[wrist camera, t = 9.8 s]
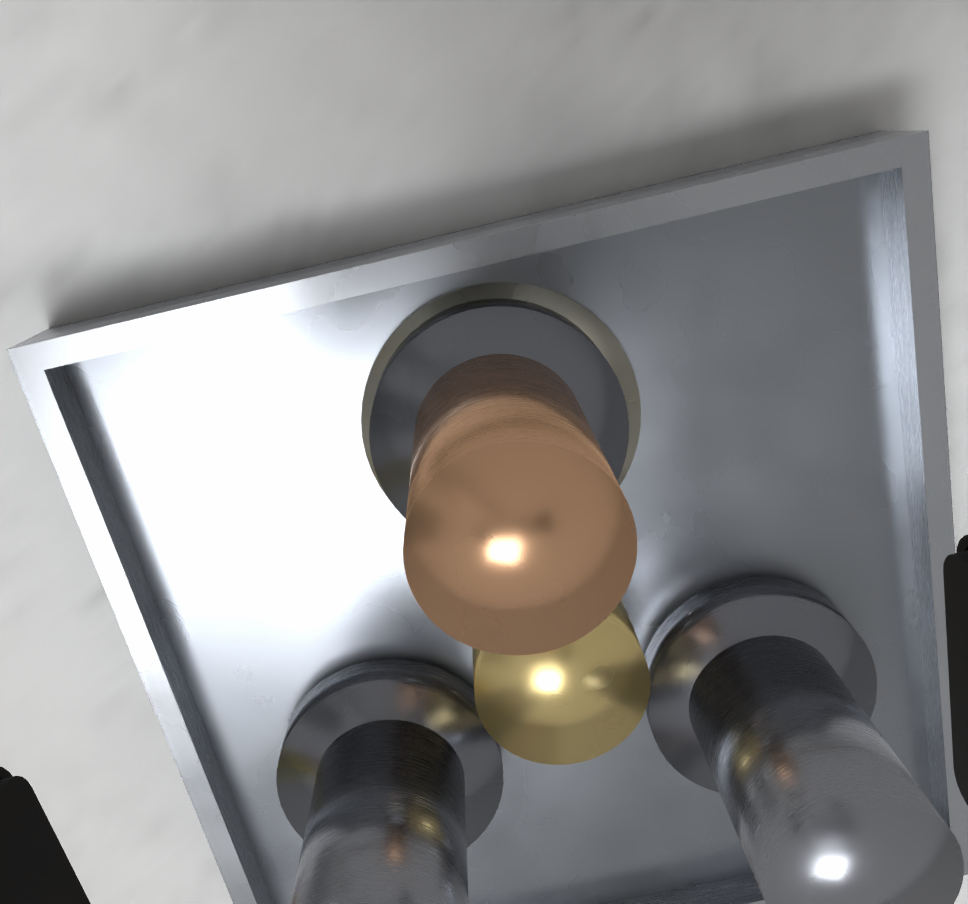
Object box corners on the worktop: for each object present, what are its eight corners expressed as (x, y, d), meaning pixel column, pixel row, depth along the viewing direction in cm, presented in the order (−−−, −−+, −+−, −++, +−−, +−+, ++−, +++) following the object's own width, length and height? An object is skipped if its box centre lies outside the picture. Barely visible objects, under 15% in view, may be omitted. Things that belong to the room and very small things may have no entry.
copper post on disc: (343, 330, 21) (295, 426, 14) (594, 271, 21) (668, 340, 14) (407, 557, 23) (392, 737, 16) (638, 505, 23) (721, 665, 16)
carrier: (47, 329, 22) (-176, 440, 14) (881, 130, 21) (1140, 130, 13) (292, 953, 29) (234, 1269, 21) (935, 817, 28) (1131, 1090, 20)
